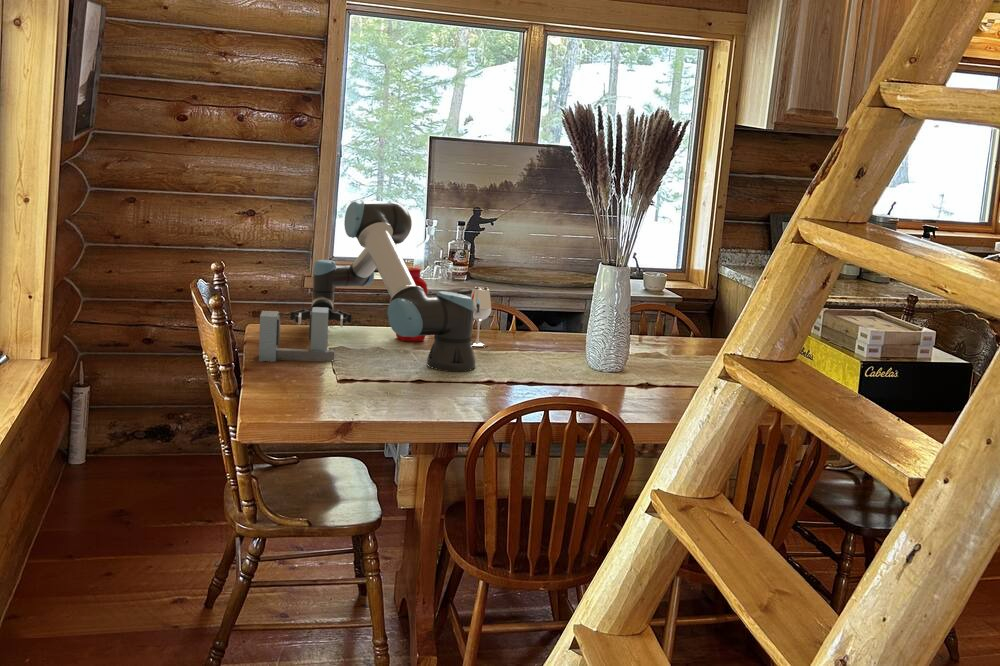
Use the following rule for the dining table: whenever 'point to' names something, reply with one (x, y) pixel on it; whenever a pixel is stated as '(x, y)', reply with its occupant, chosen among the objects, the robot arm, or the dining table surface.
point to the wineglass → (480, 308)
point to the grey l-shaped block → (271, 352)
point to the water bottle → (421, 283)
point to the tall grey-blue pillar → (318, 328)
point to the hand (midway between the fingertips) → (320, 321)
